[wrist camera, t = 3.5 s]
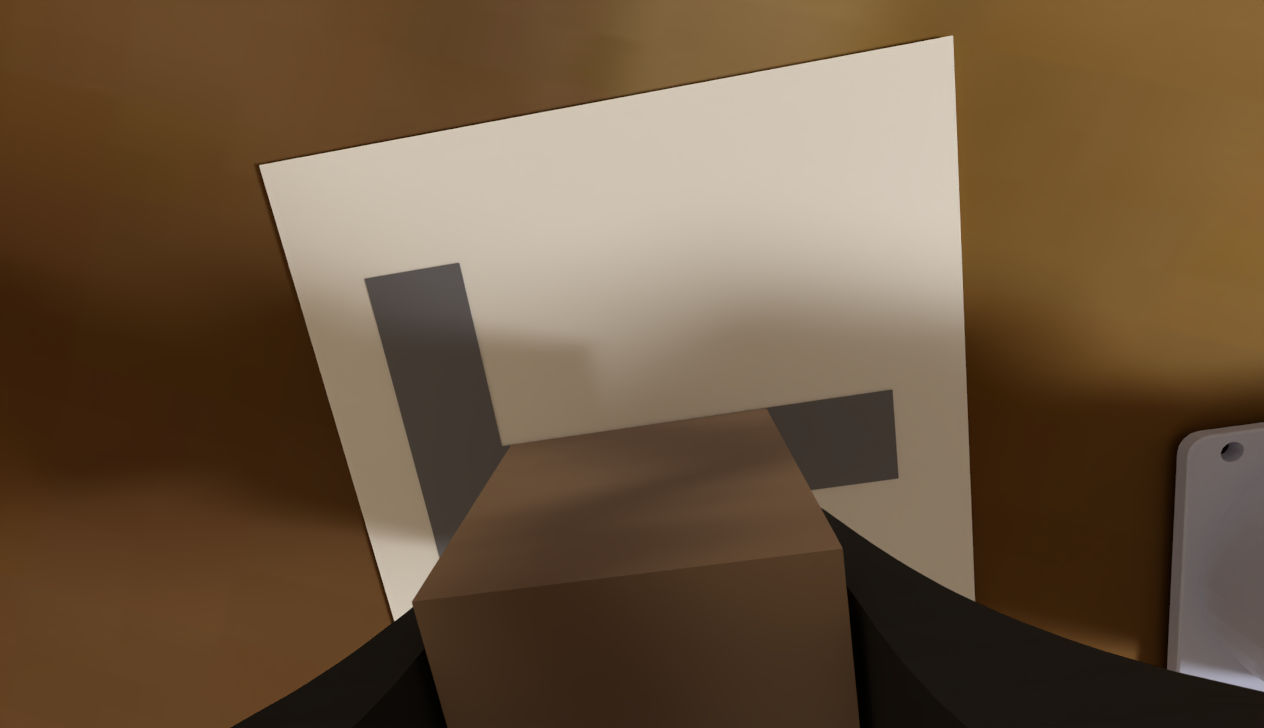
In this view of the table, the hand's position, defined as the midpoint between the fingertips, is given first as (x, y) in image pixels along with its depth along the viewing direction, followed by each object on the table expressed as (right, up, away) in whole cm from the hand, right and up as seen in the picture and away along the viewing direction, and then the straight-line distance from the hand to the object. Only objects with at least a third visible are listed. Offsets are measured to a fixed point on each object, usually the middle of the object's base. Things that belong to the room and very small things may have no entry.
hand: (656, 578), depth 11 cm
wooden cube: (0, 0, +1) cm, 1 cm away
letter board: (0, +1, +5) cm, 5 cm away
